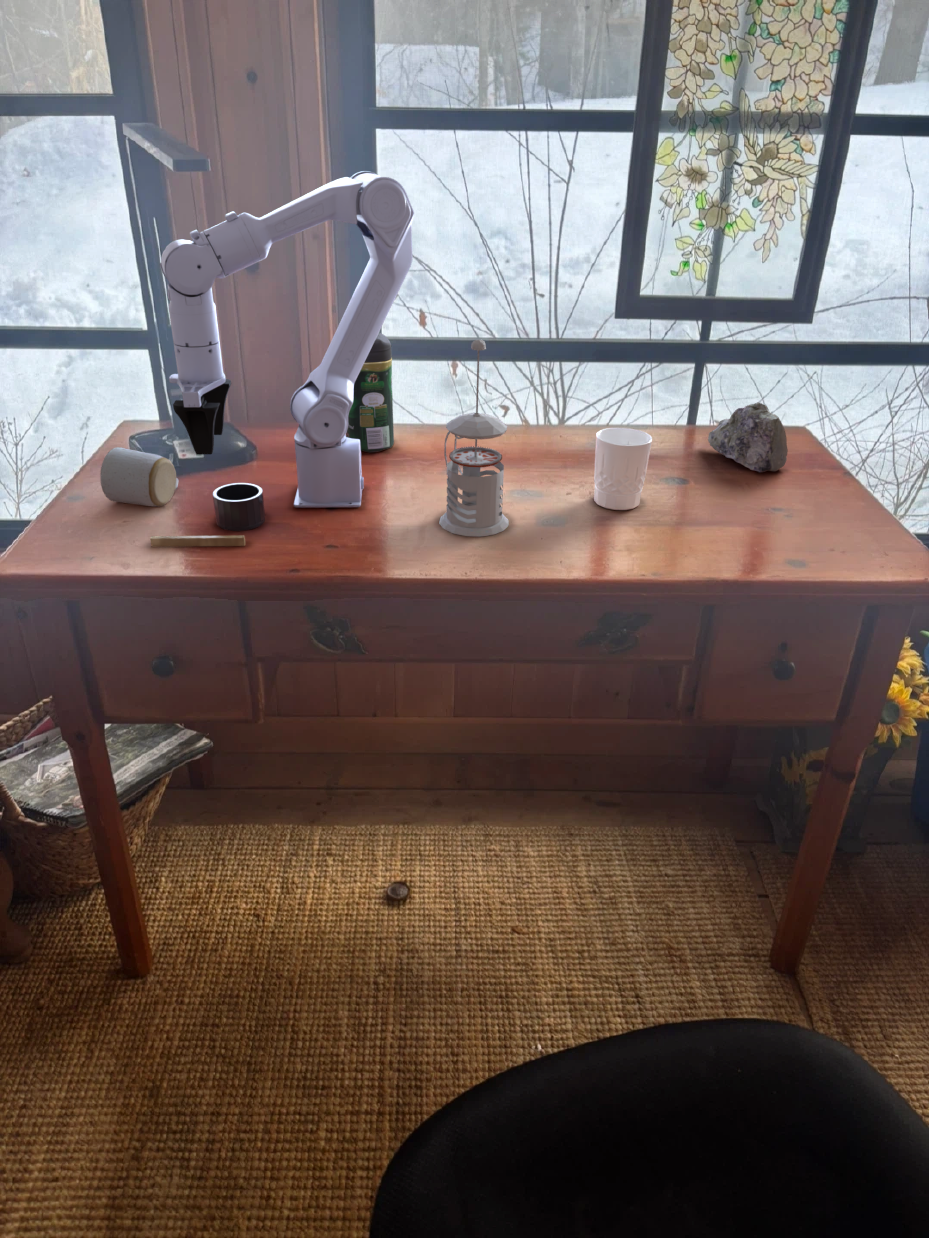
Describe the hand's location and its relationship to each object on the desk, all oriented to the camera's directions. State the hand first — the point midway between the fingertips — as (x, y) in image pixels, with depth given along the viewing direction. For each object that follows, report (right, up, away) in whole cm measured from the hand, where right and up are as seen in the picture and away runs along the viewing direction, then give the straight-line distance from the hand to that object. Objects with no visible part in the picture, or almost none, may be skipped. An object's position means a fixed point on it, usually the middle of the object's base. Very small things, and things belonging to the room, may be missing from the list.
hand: (209, 443), depth 124 cm
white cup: (+57, -7, +11) cm, 58 cm away
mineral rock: (+81, +2, +27) cm, 85 cm away
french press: (+35, -10, +4) cm, 37 cm away
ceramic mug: (-11, -7, +8) cm, 16 cm away
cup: (+4, -10, +2) cm, 11 cm away
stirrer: (0, -14, -5) cm, 14 cm away
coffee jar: (+19, +5, +30) cm, 36 cm away
